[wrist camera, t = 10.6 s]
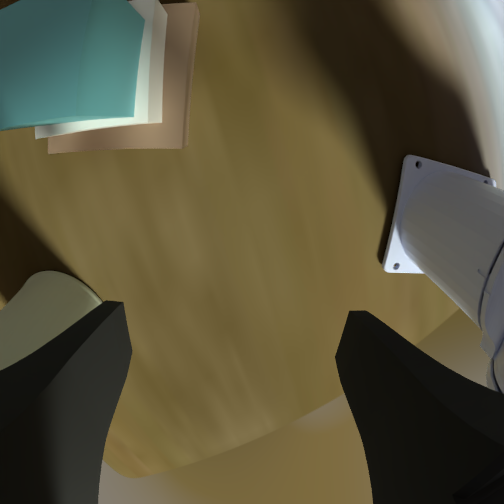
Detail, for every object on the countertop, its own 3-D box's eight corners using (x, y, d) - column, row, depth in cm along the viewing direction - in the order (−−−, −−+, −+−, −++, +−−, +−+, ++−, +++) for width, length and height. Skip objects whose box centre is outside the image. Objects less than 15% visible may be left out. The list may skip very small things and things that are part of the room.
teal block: (145, 20, 9) (99, -27, 4) (133, 117, 11) (75, 115, 6) (58, 36, 9) (-8, 14, 4) (48, 125, 10) (-25, 135, 6)
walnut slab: (201, 17, 13) (196, 2, 11) (189, 145, 16) (181, 148, 14) (78, 32, 12) (59, 23, 10) (68, 149, 15) (48, 154, 13)
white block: (167, 14, 11) (156, -4, 8) (162, 122, 13) (147, 122, 11) (65, 35, 10) (42, 26, 8) (60, 134, 13) (35, 139, 11)
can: (6, 278, 18) (-79, 371, 7) (89, 260, 18) (-12, 390, 7) (54, 364, 22) (5, 465, 11) (135, 362, 22) (98, 494, 11)
